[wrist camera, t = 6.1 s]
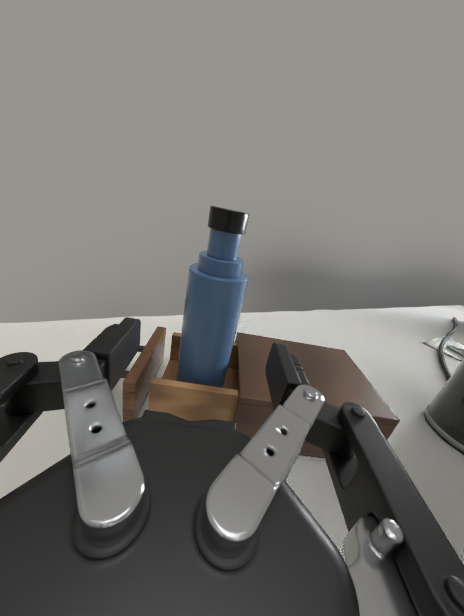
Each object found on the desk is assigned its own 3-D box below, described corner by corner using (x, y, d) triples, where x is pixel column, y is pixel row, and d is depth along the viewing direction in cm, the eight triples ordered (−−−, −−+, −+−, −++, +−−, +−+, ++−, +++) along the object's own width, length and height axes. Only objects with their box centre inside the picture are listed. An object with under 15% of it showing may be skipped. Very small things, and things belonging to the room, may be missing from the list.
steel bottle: (205, 364, 33) (233, 210, 25) (232, 392, 29) (275, 219, 21) (167, 378, 29) (184, 200, 21) (191, 411, 25) (224, 209, 17)
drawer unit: (227, 445, 24) (240, 397, 22) (228, 370, 36) (237, 332, 33) (370, 464, 26) (400, 420, 23) (328, 385, 37) (344, 350, 34)
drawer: (80, 415, 23) (76, 375, 21) (126, 352, 34) (127, 321, 32) (266, 440, 25) (279, 404, 23) (256, 372, 35) (264, 344, 33)
